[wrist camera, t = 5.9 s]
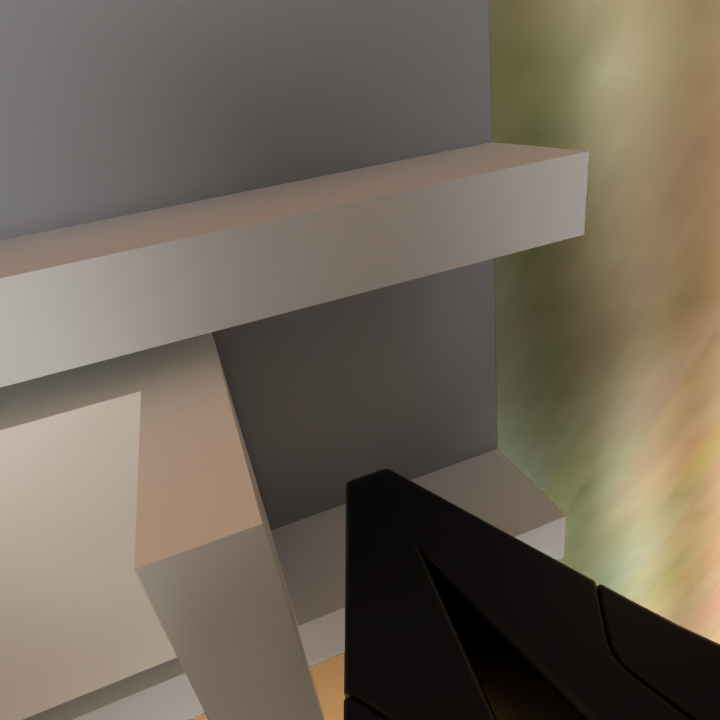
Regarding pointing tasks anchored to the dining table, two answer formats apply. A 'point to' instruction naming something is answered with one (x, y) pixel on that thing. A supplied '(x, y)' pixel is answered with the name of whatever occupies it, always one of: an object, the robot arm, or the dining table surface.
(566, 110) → the dining table surface
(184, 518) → the beige angular block
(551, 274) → the dining table surface
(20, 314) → the grey angular frame
